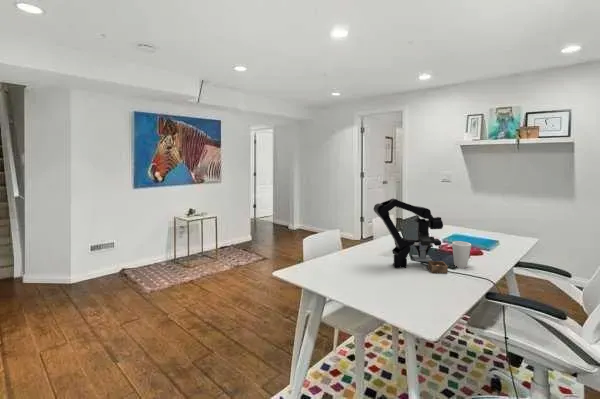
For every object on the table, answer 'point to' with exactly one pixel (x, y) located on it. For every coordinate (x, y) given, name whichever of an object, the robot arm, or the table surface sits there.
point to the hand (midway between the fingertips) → (422, 256)
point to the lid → (422, 256)
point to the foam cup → (461, 253)
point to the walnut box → (437, 267)
